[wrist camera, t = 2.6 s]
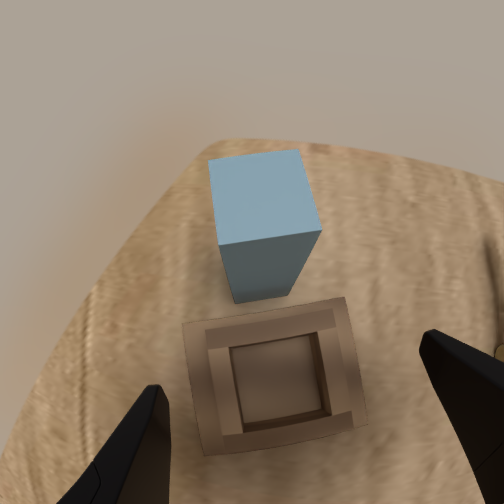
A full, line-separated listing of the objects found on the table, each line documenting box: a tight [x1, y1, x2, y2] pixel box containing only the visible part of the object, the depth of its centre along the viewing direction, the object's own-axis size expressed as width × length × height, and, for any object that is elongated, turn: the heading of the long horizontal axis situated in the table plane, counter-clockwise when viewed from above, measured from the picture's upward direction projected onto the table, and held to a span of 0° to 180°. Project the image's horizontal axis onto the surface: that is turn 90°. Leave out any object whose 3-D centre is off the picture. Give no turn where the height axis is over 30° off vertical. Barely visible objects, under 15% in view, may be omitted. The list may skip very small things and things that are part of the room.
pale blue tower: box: [208, 149, 322, 304], centre depth 18 cm, size 4×4×12 cm
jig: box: [182, 297, 368, 456], centre depth 19 cm, size 10×12×4 cm
